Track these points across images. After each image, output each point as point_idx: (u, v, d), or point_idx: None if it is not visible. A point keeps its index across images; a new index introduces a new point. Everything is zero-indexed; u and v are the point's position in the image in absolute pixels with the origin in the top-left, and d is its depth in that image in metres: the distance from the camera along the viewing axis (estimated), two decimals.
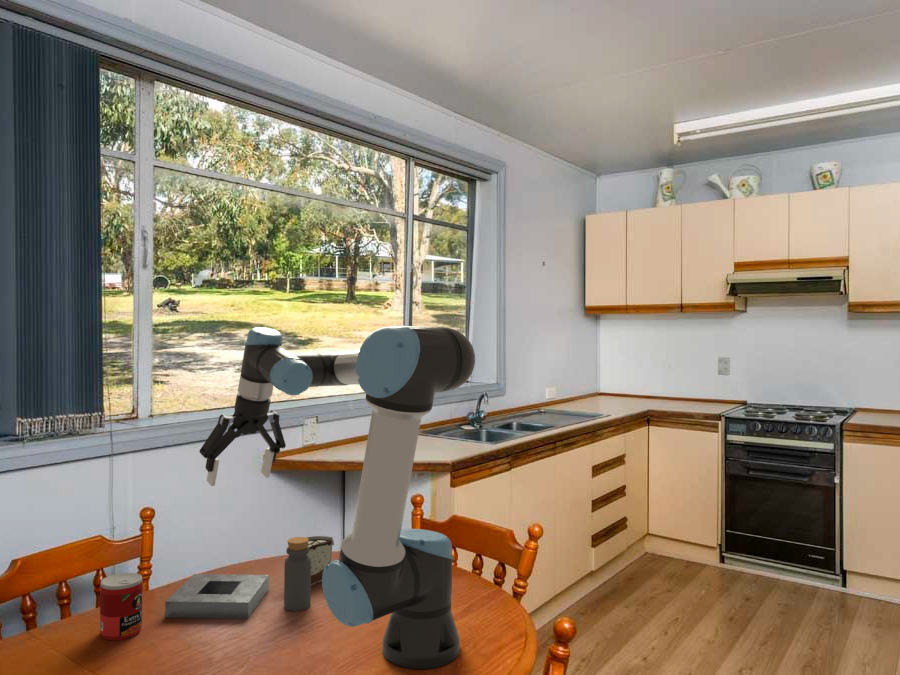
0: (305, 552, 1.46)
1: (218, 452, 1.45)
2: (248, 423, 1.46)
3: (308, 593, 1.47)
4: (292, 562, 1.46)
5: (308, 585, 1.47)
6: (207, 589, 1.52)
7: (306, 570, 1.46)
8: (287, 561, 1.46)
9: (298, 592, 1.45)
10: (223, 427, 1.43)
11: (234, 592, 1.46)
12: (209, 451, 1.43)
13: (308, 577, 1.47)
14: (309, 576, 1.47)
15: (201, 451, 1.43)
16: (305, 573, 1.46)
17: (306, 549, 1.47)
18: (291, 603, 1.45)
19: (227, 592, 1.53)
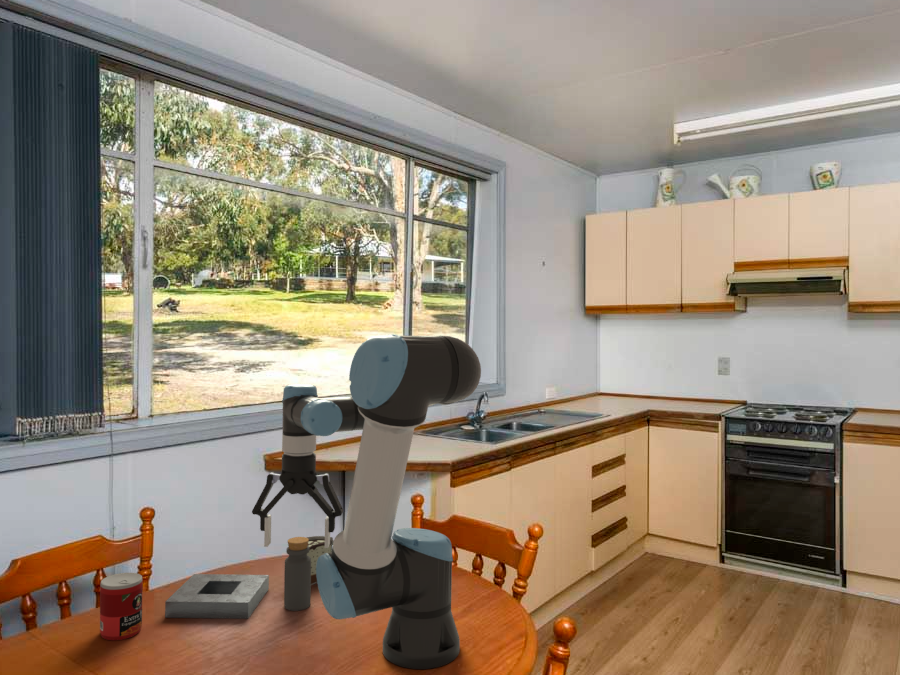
0: (305, 552, 1.46)
1: (266, 510, 1.47)
2: (290, 481, 1.46)
3: (308, 593, 1.47)
4: (292, 562, 1.46)
5: (308, 585, 1.47)
6: (207, 589, 1.52)
7: (306, 570, 1.46)
8: (287, 561, 1.46)
9: (298, 592, 1.45)
10: (267, 483, 1.47)
11: (234, 592, 1.46)
12: (256, 507, 1.47)
13: (308, 577, 1.47)
14: (309, 576, 1.47)
15: None
16: (305, 573, 1.46)
17: (306, 549, 1.47)
18: (291, 603, 1.45)
19: (227, 592, 1.53)
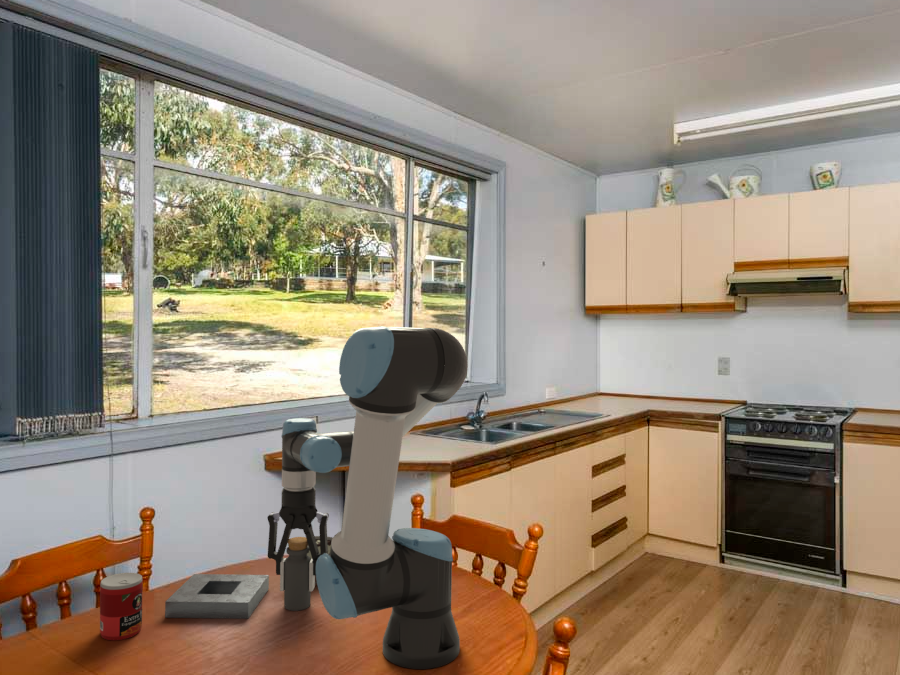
0: (305, 552, 1.46)
1: (279, 553, 1.47)
2: (290, 516, 1.46)
3: (308, 593, 1.47)
4: (292, 562, 1.46)
5: (308, 585, 1.47)
6: (207, 589, 1.52)
7: (306, 570, 1.46)
8: (287, 561, 1.46)
9: (298, 592, 1.45)
10: (270, 524, 1.47)
11: (234, 592, 1.46)
12: (270, 551, 1.47)
13: (308, 577, 1.47)
14: None
15: None
16: (306, 573, 1.46)
17: (306, 549, 1.47)
18: (291, 603, 1.45)
19: (227, 592, 1.53)
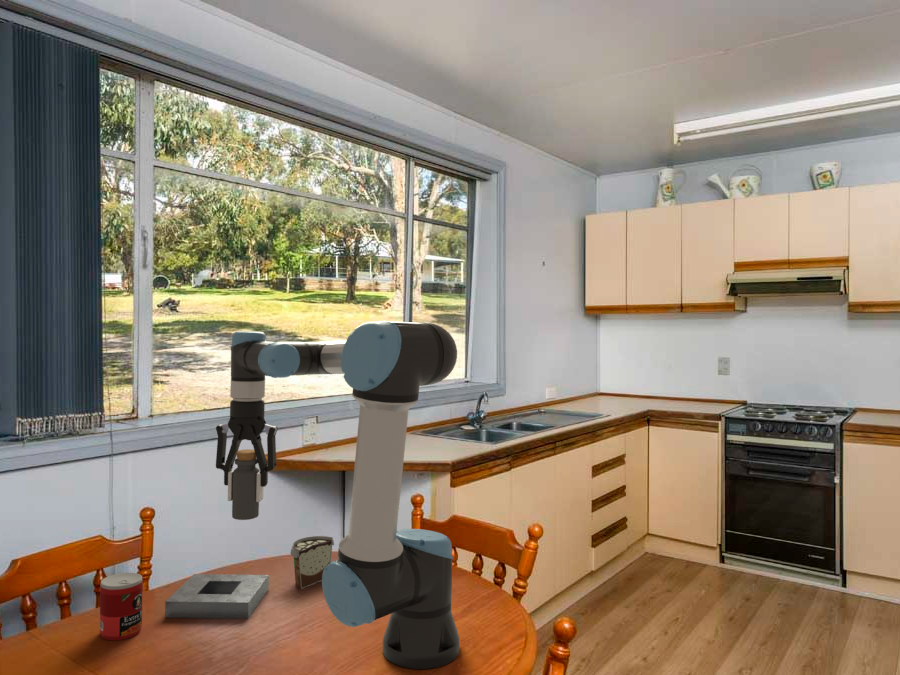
0: (253, 463, 1.47)
1: (227, 463, 1.48)
2: (238, 426, 1.47)
3: (256, 504, 1.48)
4: (240, 471, 1.46)
5: None
6: (207, 589, 1.52)
7: (254, 480, 1.47)
8: (235, 471, 1.47)
9: (245, 502, 1.46)
10: (218, 435, 1.48)
11: (234, 592, 1.46)
12: (218, 461, 1.48)
13: None
14: None
15: None
16: (253, 484, 1.47)
17: (254, 460, 1.48)
18: (238, 512, 1.46)
19: (227, 592, 1.53)
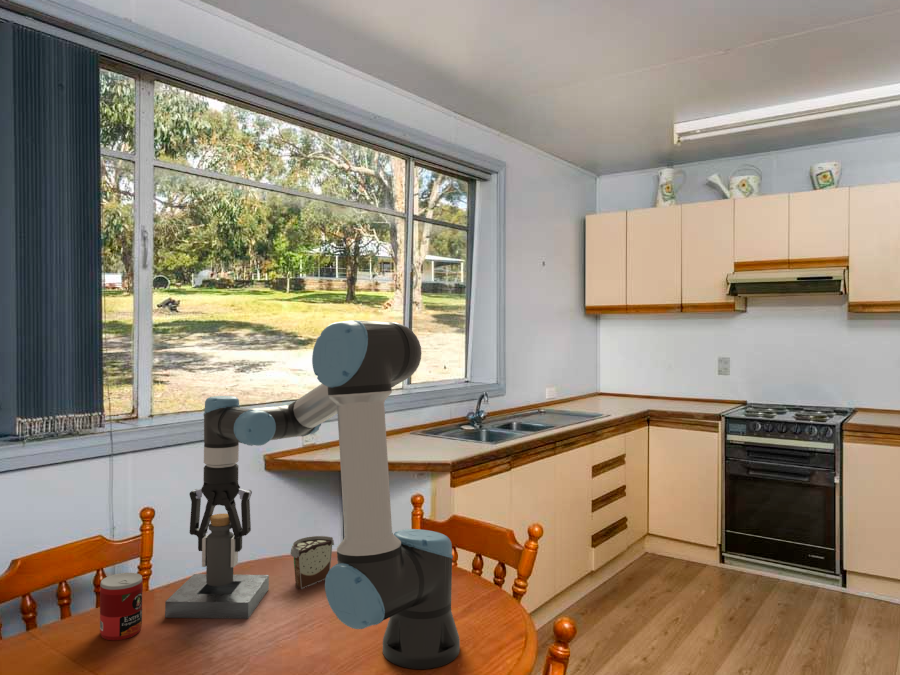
0: (227, 528, 1.47)
1: (201, 529, 1.48)
2: (211, 492, 1.47)
3: (230, 569, 1.48)
4: (213, 537, 1.46)
5: (230, 561, 1.48)
6: (207, 589, 1.52)
7: (228, 546, 1.47)
8: (209, 537, 1.47)
9: (219, 568, 1.46)
10: (192, 501, 1.48)
11: (234, 592, 1.46)
12: (192, 527, 1.48)
13: (230, 553, 1.48)
14: None
15: None
16: (227, 549, 1.47)
17: (228, 525, 1.48)
18: (212, 579, 1.46)
19: (227, 592, 1.53)
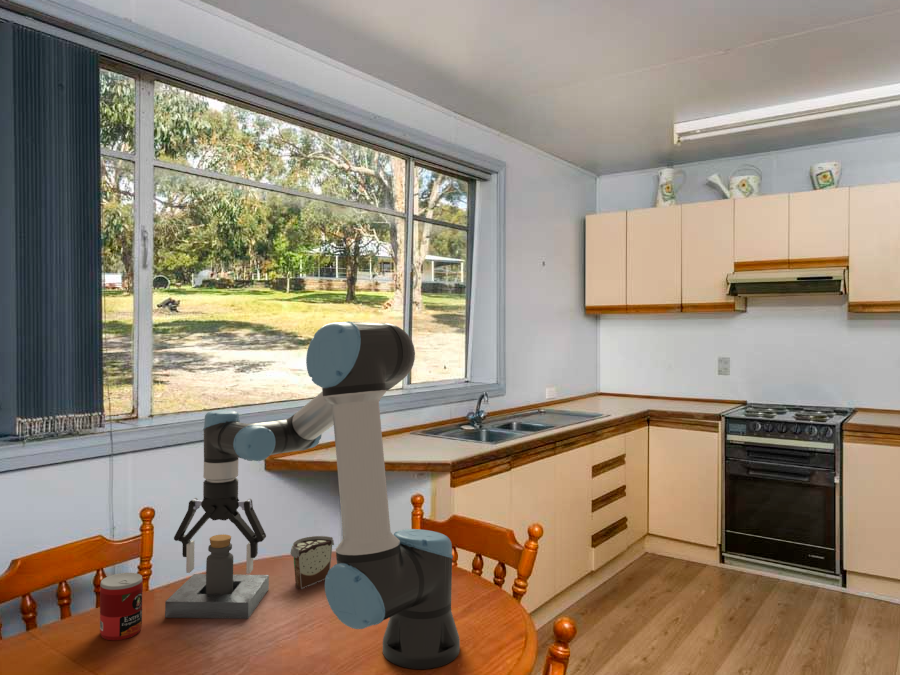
0: (226, 550, 1.47)
1: (188, 536, 1.48)
2: (212, 507, 1.47)
3: (229, 590, 1.48)
4: (213, 559, 1.46)
5: (229, 582, 1.48)
6: None
7: (227, 567, 1.47)
8: (208, 558, 1.47)
9: (218, 589, 1.46)
10: (189, 509, 1.48)
11: (234, 592, 1.46)
12: (178, 534, 1.48)
13: (229, 574, 1.48)
14: (231, 573, 1.48)
15: None
16: (227, 571, 1.47)
17: (228, 547, 1.48)
18: None
19: None
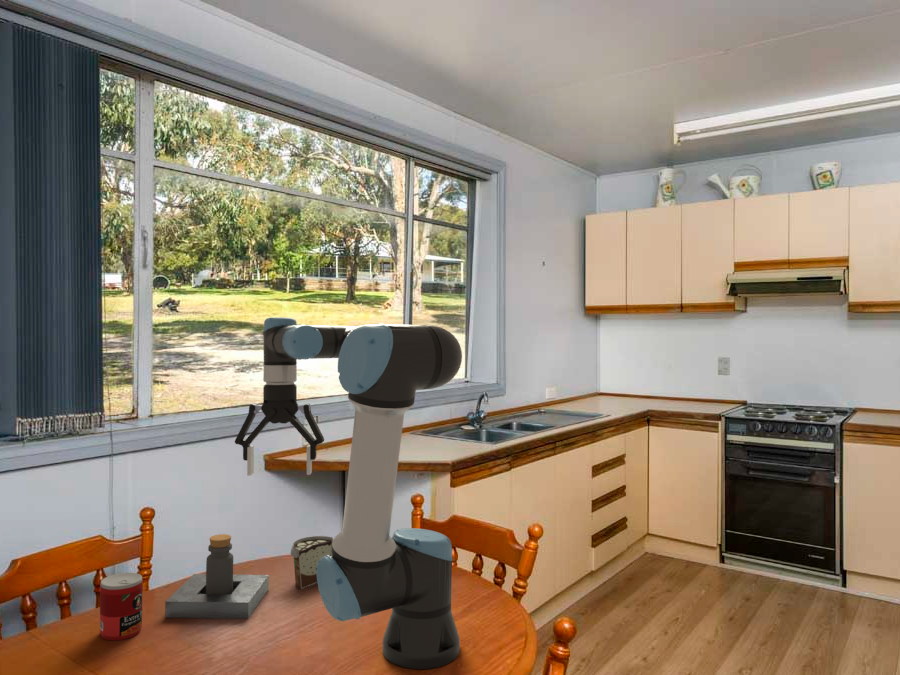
0: (226, 549, 1.47)
1: (248, 439, 1.51)
2: (272, 410, 1.50)
3: (229, 590, 1.48)
4: (213, 559, 1.47)
5: (229, 582, 1.48)
6: None
7: (227, 567, 1.47)
8: (208, 558, 1.47)
9: (218, 589, 1.46)
10: (249, 413, 1.51)
11: (234, 592, 1.46)
12: (239, 437, 1.51)
13: (229, 574, 1.48)
14: (231, 573, 1.48)
15: None
16: (227, 570, 1.47)
17: (228, 546, 1.48)
18: None
19: None
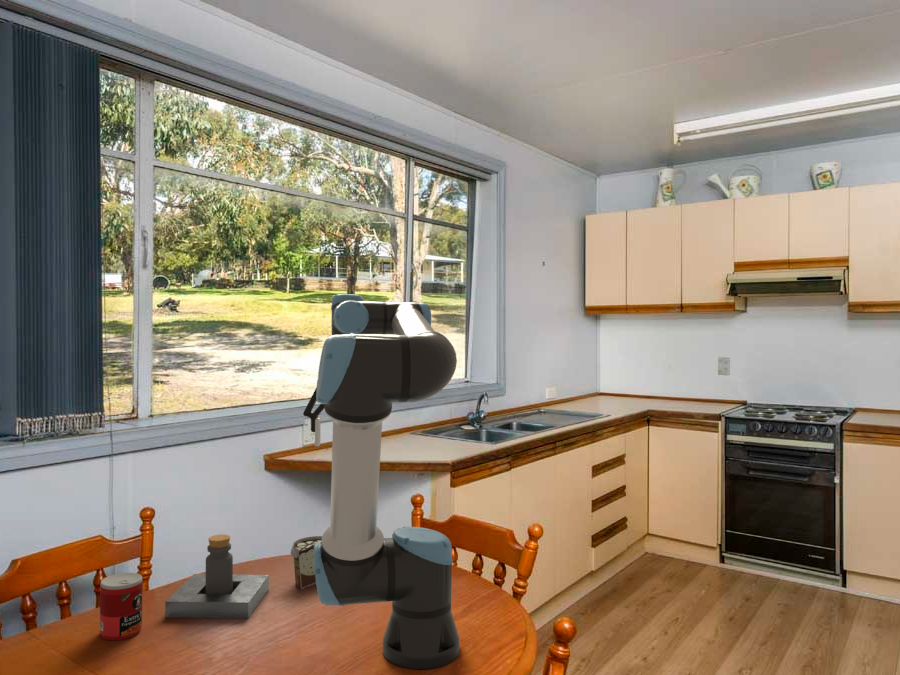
0: (225, 549, 1.47)
1: (316, 412, 1.56)
2: None
3: (229, 590, 1.48)
4: (212, 559, 1.46)
5: (229, 582, 1.48)
6: None
7: (227, 567, 1.47)
8: (207, 558, 1.47)
9: (218, 589, 1.46)
10: (317, 386, 1.56)
11: (234, 592, 1.46)
12: (307, 409, 1.56)
13: (229, 574, 1.48)
14: (230, 573, 1.48)
15: None
16: (226, 571, 1.47)
17: (227, 546, 1.48)
18: None
19: None
